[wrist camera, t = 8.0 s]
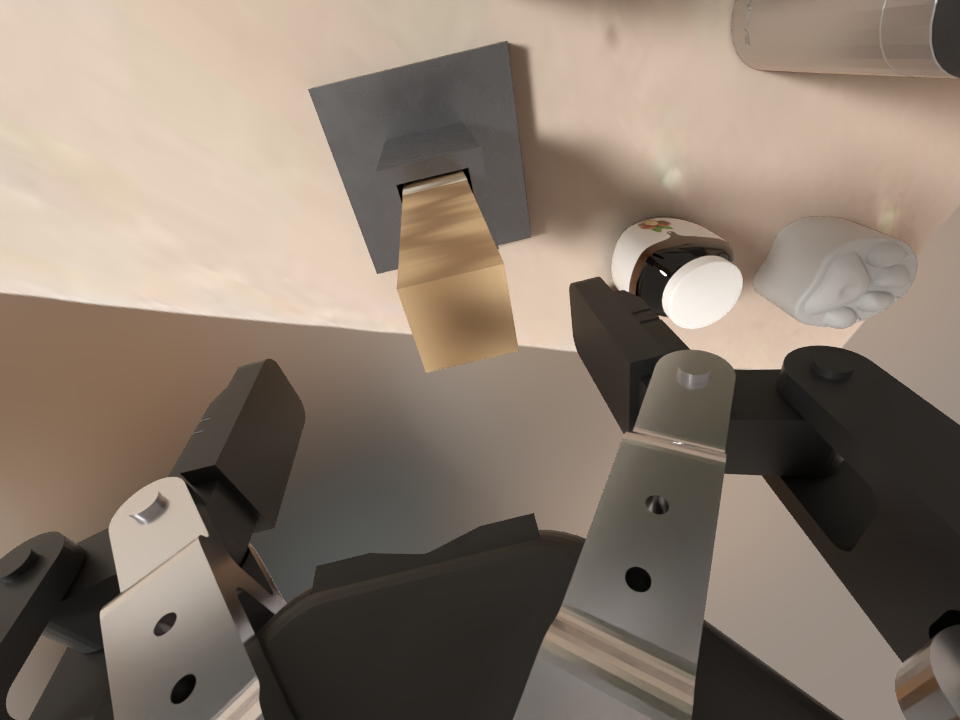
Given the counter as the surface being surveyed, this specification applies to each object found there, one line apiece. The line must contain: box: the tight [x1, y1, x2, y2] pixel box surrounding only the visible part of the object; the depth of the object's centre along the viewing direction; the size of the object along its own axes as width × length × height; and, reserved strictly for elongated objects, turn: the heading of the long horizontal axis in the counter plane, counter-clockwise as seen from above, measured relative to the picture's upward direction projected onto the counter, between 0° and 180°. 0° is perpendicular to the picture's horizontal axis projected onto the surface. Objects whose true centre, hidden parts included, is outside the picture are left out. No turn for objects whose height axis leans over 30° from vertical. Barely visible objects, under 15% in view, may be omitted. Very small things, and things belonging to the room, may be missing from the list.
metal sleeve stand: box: [308, 41, 531, 274], centre depth 33 cm, size 16×16×14 cm
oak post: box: [397, 169, 518, 373], centre depth 24 cm, size 4×4×20 cm
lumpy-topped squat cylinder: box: [753, 216, 917, 329], centre depth 47 cm, size 10×13×9 cm
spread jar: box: [612, 217, 743, 329], centre depth 43 cm, size 12×11×12 cm
